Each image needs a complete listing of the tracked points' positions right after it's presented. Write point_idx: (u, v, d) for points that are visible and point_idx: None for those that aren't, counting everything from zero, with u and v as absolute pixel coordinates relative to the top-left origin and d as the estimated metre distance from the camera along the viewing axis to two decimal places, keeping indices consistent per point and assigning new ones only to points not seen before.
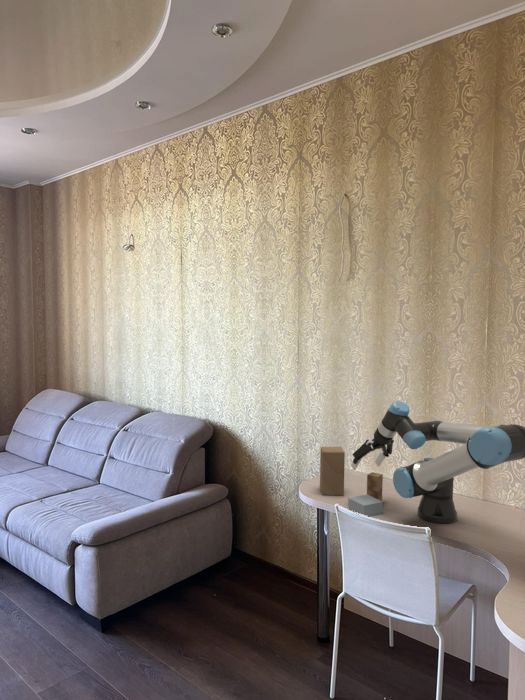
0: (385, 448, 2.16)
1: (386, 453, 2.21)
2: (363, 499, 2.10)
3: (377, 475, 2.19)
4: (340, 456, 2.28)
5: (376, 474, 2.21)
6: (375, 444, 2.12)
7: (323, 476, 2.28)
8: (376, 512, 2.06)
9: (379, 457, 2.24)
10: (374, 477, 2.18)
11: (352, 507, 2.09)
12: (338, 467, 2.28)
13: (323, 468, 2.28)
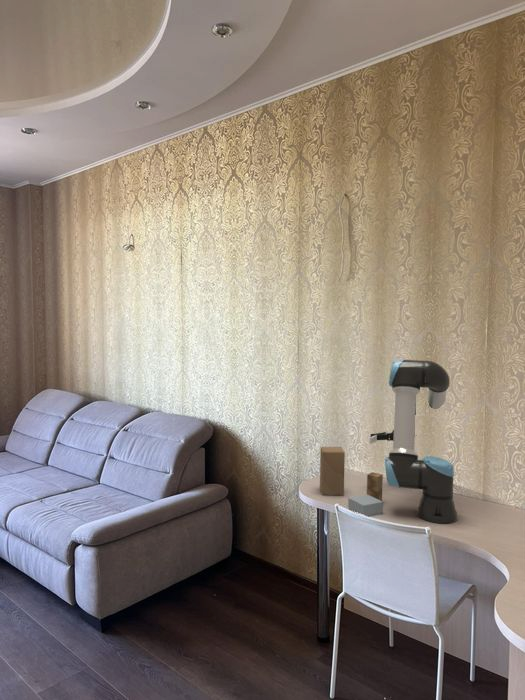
0: None
1: None
2: (363, 499, 2.10)
3: (377, 475, 2.19)
4: (340, 456, 2.28)
5: (376, 474, 2.21)
6: None
7: (323, 476, 2.28)
8: (376, 512, 2.06)
9: None
10: (374, 477, 2.18)
11: (352, 507, 2.09)
12: (338, 467, 2.28)
13: (323, 468, 2.28)
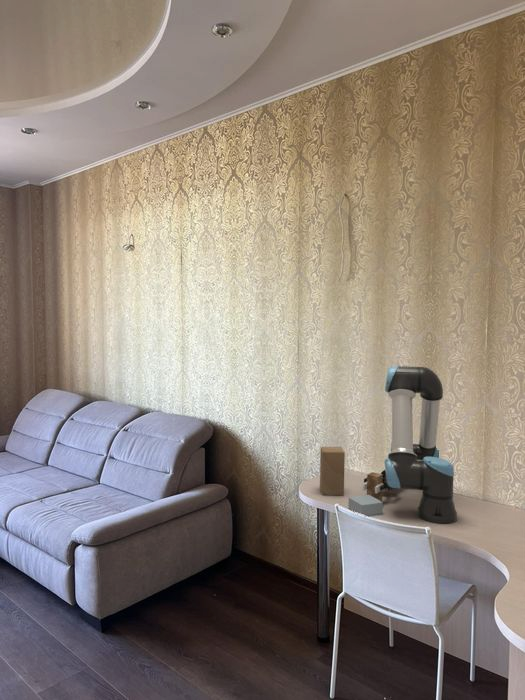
0: None
1: None
2: (364, 499, 2.10)
3: (377, 475, 2.19)
4: (340, 456, 2.28)
5: (376, 474, 2.21)
6: None
7: (323, 476, 2.28)
8: (375, 512, 2.06)
9: None
10: (374, 477, 2.18)
11: (352, 506, 2.10)
12: (338, 467, 2.28)
13: (323, 468, 2.28)
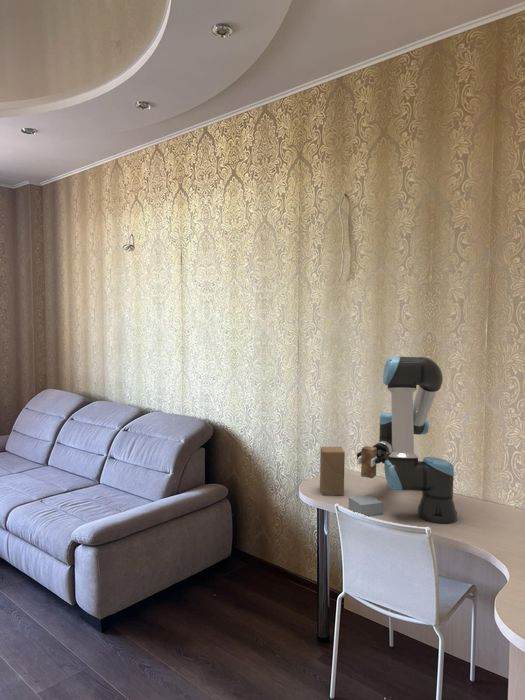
0: (380, 452, 2.21)
1: None
2: (364, 499, 2.10)
3: (372, 448, 2.14)
4: (340, 456, 2.28)
5: (370, 447, 2.15)
6: None
7: (323, 476, 2.28)
8: (375, 512, 2.06)
9: None
10: (369, 450, 2.12)
11: (352, 506, 2.10)
12: (338, 467, 2.28)
13: (323, 468, 2.28)
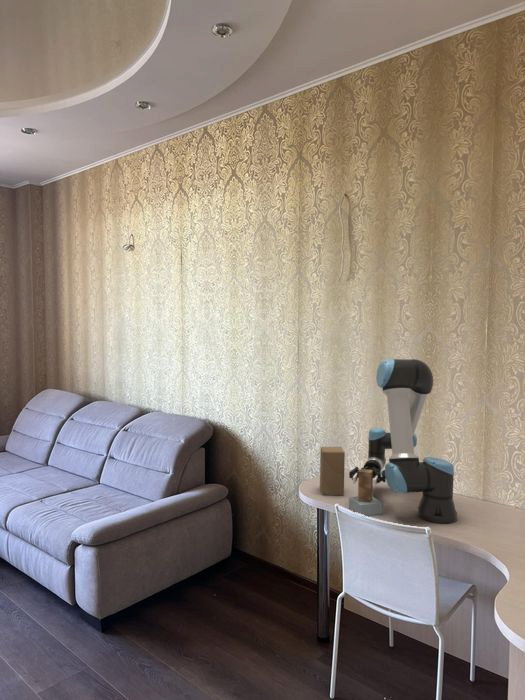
0: (376, 470, 2.16)
1: None
2: None
3: (369, 471, 2.08)
4: (340, 456, 2.28)
5: (367, 470, 2.10)
6: (363, 467, 2.21)
7: (323, 476, 2.28)
8: (375, 513, 2.06)
9: None
10: (366, 473, 2.07)
11: (352, 506, 2.10)
12: (338, 467, 2.28)
13: (323, 468, 2.28)
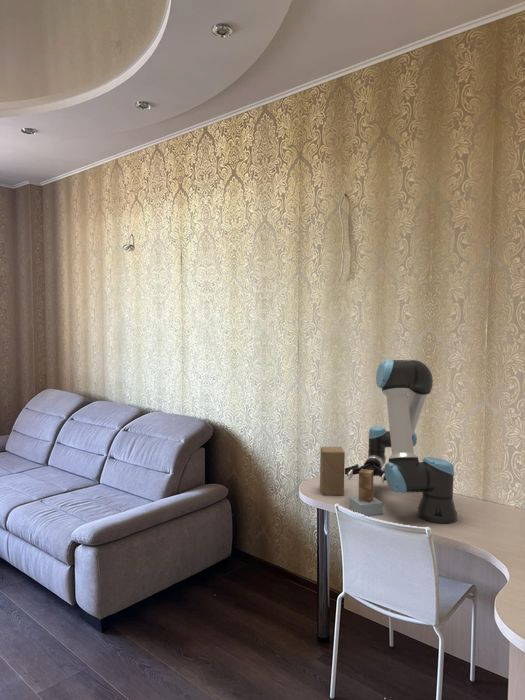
0: (378, 467, 2.19)
1: (384, 472, 2.14)
2: None
3: (369, 471, 2.08)
4: (340, 456, 2.28)
5: (367, 470, 2.09)
6: (364, 466, 2.24)
7: (323, 476, 2.28)
8: (375, 513, 2.06)
9: None
10: (367, 474, 2.06)
11: (352, 506, 2.10)
12: (338, 467, 2.28)
13: (323, 468, 2.28)
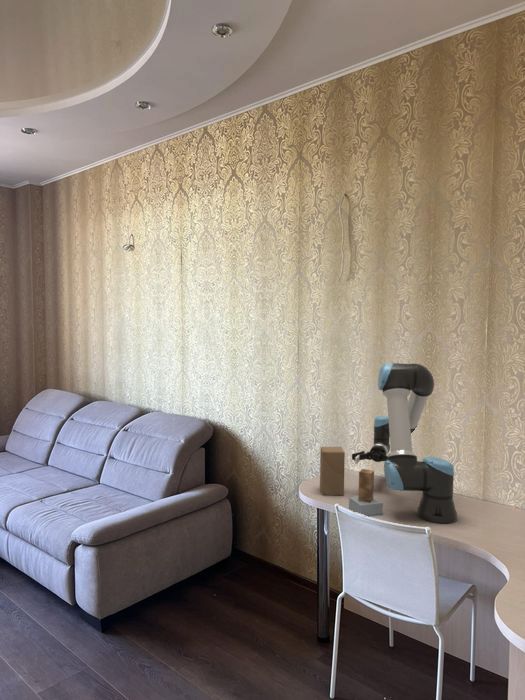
0: (383, 453, 2.31)
1: None
2: None
3: (369, 472, 2.08)
4: (340, 456, 2.28)
5: (368, 471, 2.09)
6: (370, 452, 2.36)
7: (323, 476, 2.28)
8: (375, 513, 2.05)
9: None
10: (367, 474, 2.06)
11: (352, 506, 2.10)
12: (338, 467, 2.28)
13: (323, 468, 2.28)
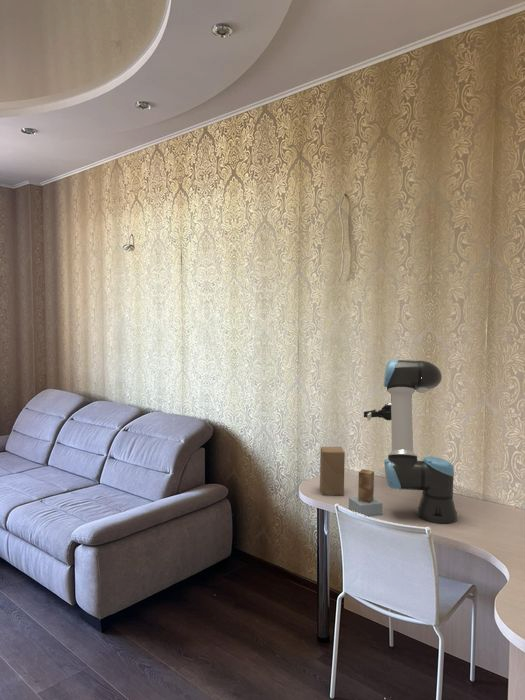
0: None
1: None
2: None
3: (369, 472, 2.08)
4: (340, 456, 2.28)
5: (367, 471, 2.09)
6: None
7: (323, 476, 2.28)
8: (374, 513, 2.05)
9: None
10: (366, 474, 2.06)
11: (352, 506, 2.10)
12: (338, 467, 2.28)
13: (323, 468, 2.28)
